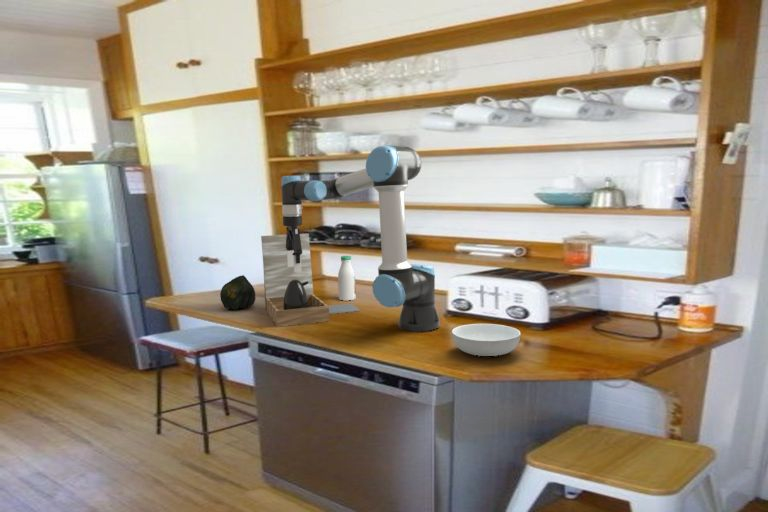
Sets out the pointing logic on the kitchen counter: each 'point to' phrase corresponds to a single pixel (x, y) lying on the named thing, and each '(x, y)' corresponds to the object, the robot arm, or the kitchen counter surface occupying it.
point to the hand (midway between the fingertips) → (294, 269)
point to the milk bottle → (346, 280)
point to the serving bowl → (486, 339)
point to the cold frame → (279, 278)
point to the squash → (237, 293)
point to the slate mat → (342, 308)
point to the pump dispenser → (295, 295)
